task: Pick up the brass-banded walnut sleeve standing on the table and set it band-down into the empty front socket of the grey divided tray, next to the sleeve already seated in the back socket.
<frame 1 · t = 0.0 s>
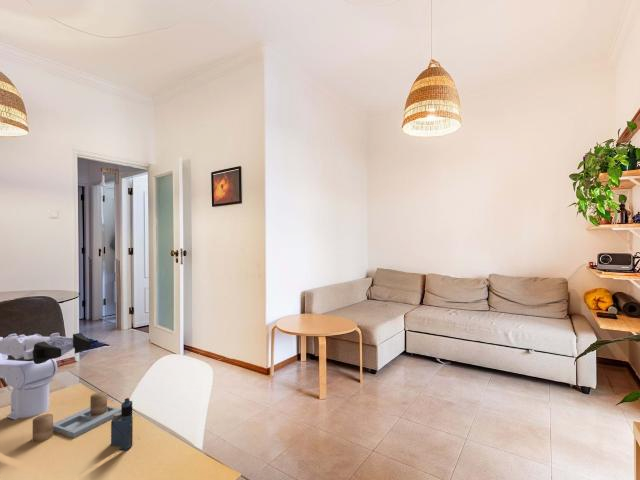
hand: (75, 348, 91), 22 cm above the table, tool horizontal, fingers open, 7 cm apart
sleeve: (42, 441, 84), on the table
vaping device: (121, 448, 82), on the table
grey divided tray: (87, 424, 92), on the table
sleeve seated: (98, 415, 95), point 1 cm above the table, touching grey divided tray
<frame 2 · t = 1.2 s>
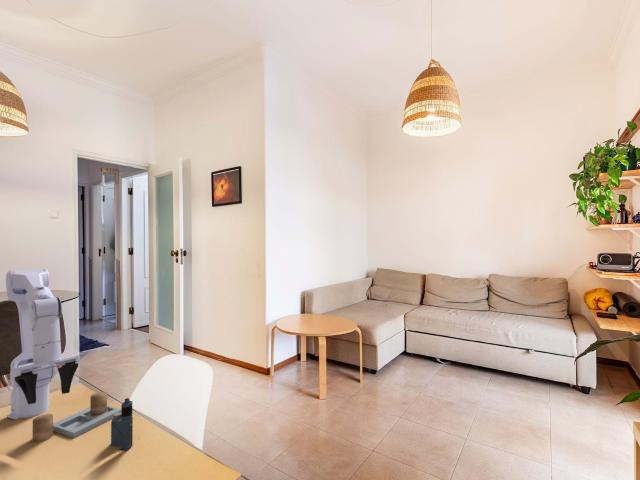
hand: (49, 398, 85), 11 cm above the table, tool tilted 15°, fingers open, 7 cm apart
nothing on the table moved.
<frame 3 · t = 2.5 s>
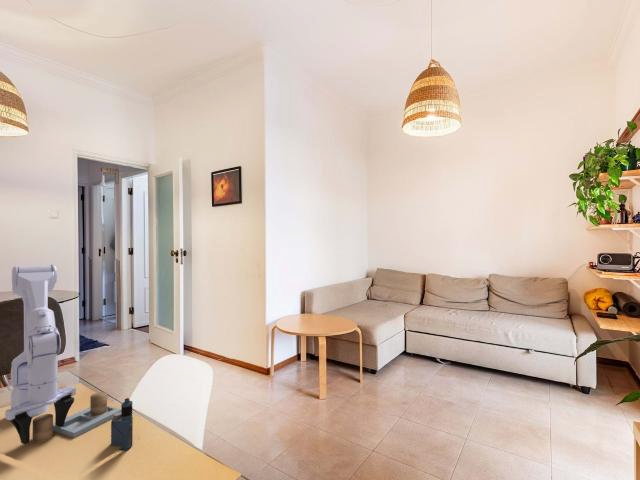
hand: (42, 434, 84), 2 cm above the table, tool pointing down, fingers open, 7 cm apart
nothing on the table moved.
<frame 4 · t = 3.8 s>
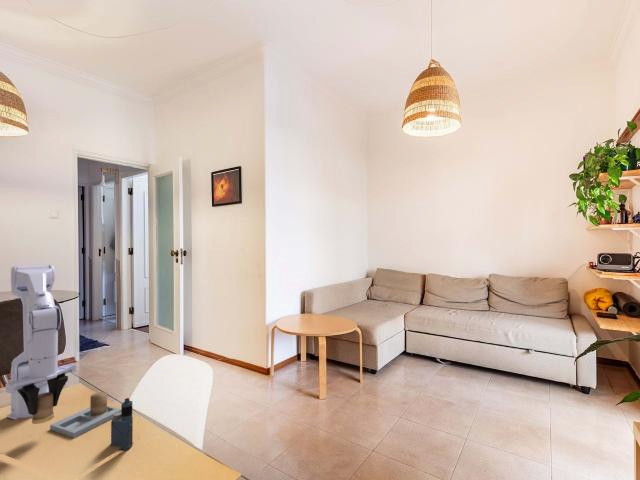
hand: (43, 409, 85), 8 cm above the table, tool pointing down, fingers closed on sleeve, 4 cm apart
sleeve: (43, 419, 84), point 6 cm above the table, touching gripper
everything else where it was.
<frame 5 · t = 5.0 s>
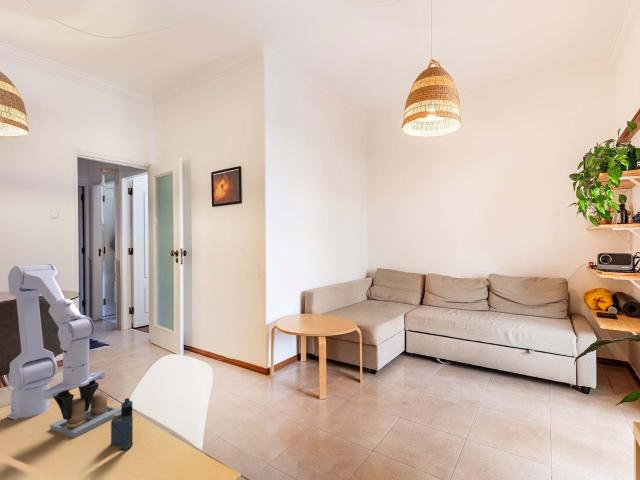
hand: (75, 414, 89), 4 cm above the table, tool pointing down, fingers closed on sleeve, 4 cm apart
sleeve: (76, 423, 89), point 2 cm above the table, touching gripper
everything else where it was.
when the fingers open (3 cm above the table, at t = 5.7 s): sleeve stays where it is, resting on grey divided tray.
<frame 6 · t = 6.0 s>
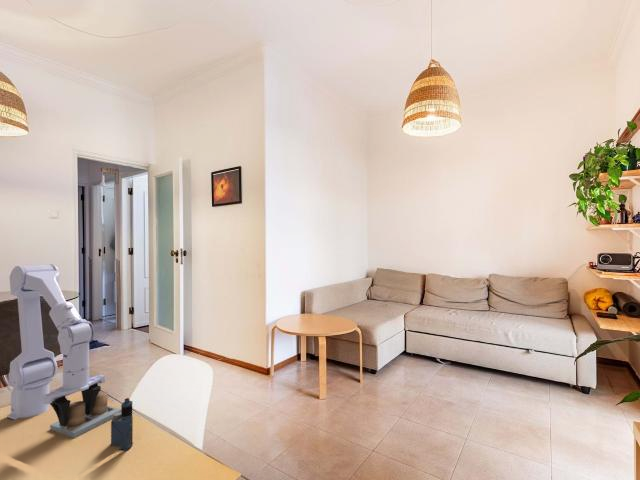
hand: (75, 419, 89), 3 cm above the table, tool pointing down, fingers open, 5 cm apart
sleeve: (76, 426, 89), point 1 cm above the table, touching grey divided tray
sleeve seated: (98, 415, 95), point 1 cm above the table, touching grey divided tray, gripper
everything else where it was.
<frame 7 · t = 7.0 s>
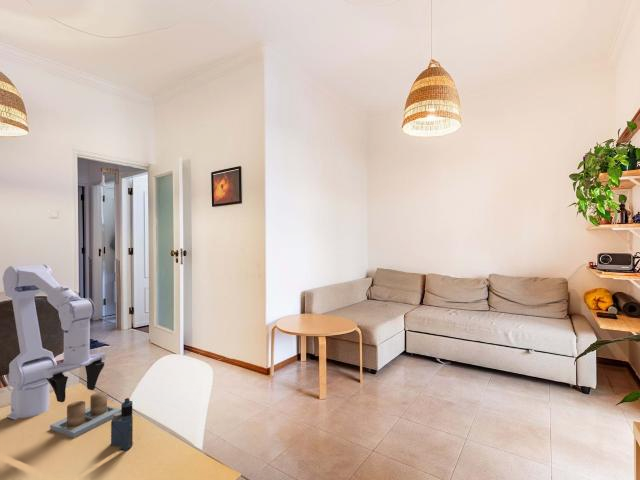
hand: (76, 395, 90), 9 cm above the table, tool pointing down, fingers open, 7 cm apart
sleeve seated: (98, 415, 95), point 1 cm above the table, touching grey divided tray
everything else where it was.
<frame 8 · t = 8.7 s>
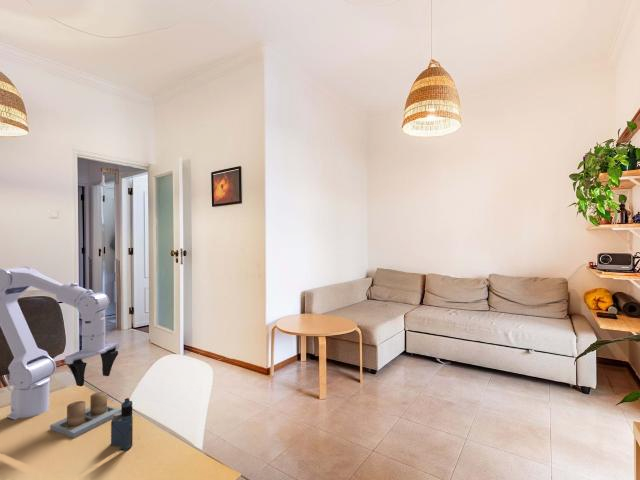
hand: (93, 380, 98), 10 cm above the table, tool pointing down, fingers open, 7 cm apart
nothing on the table moved.
at the end: sleeve 0.1 cm from the target spot on the grey divided tray, point 1.0 cm above the grey divided tray's base; sleeve tilted 0°; the gripper is holding nothing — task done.
